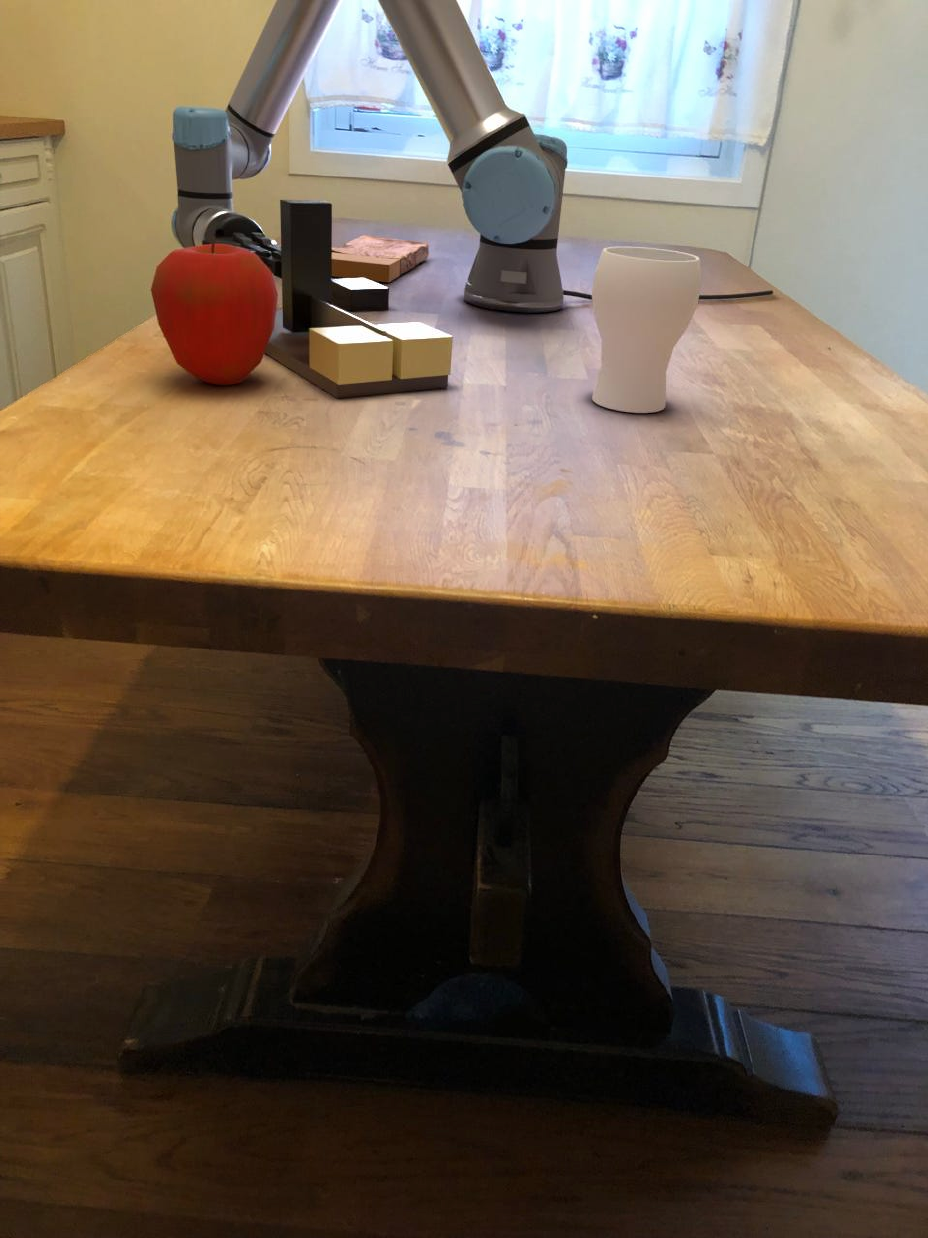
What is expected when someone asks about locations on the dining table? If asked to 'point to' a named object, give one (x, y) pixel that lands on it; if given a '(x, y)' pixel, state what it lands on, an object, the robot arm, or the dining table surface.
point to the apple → (215, 310)
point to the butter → (379, 352)
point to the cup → (641, 322)
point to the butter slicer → (310, 268)
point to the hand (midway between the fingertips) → (299, 272)
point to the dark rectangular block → (359, 294)
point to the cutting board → (297, 358)
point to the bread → (377, 258)
